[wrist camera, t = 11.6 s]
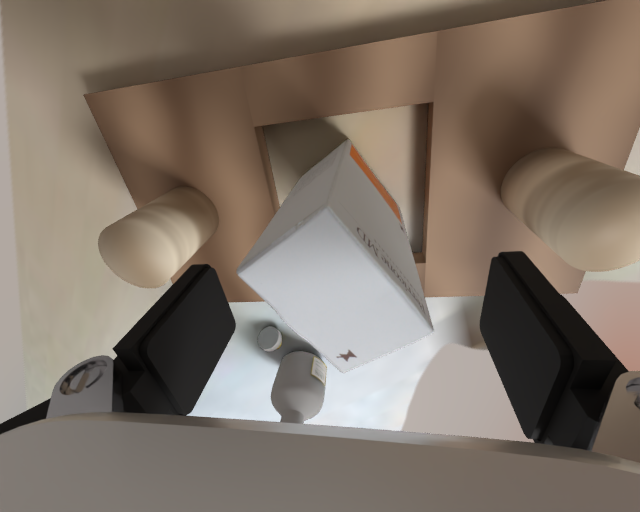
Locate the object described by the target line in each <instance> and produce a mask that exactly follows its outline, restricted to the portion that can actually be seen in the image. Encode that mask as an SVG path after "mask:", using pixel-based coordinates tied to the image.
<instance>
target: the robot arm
mask: <svg viewBox="0 0 640 512" xmlns="http://www.w3.org/2000/svg"><path fill="white" fill-rule="evenodd" d="M235 327H236V323H235V319H234V317H233V314H232V312H231V309H230V306H229V304H228V301H227V298H226V296H225V293H224V291H223V288H222V285H221V283H220V280H219V278H218V275H217V272H216V270H215V269H214V268H212V267H211V266H210V265H209V264H194V265H191V266H190V267H189V268H188V269H187V270H186V271H185V272H184V273H183V274H182V275H181V276H180V278H179V279H178V280H177V281H176V282H175V283H174V284H173V285H172V286H171V287H170V288H169V289H168V290H167V291H166V292H165V293H164V295H163V296H162V297H161V298H160V299H159V300H158V301H157V302H156V303H155V304H154V305H153V306H152V307H151V308H150V309H149V311H148V312H147V313H146V314H145V315H144V316H143V317H142V318H141V319H140V320H139V321H138V322H137V323H136V324H135V325H134V327H133V328H132V329H131V330H130V331H129V332H128V333H127V334H126V335H125V336H124V337H123V338H122V339H121V340H120V341H119V342H118V344H117V345H116V346H115V347H114V348H113V350H114V351H115V353H116V354H117V357H116V358H115V359H114V360H113V359H112V358H110V357H109V356H103V355H102V356H96V357H93V358H90V359H87V360H85V361H83V362H81V363H79V364H77V365H76V366H74V367H73V368H71V369H70V370H69V371H68V372H66V373H65V374H64V375H63V376H62V377H61V378H60V380H59V381H58V382H57V383H56V385H55V387H54V389H53V392H52V396H51V398H50V399H48V400H46V401H44V402H43V403H41V404H39V405H37V406H35V407H33V408H31V409H29V410H27V411H25V412H23V413H21V414H19V415H17V416H15V417H13V418H11V419H9V420H7V421H5V422H3V423H2V424H0V512H640V371H628V370H627V369H626V368H625V367H624V365H623V364H622V363H621V362H620V361H619V360H618V359H617V358H616V357H615V355H614V354H613V353H612V352H611V350H610V349H609V348H608V347H607V346H606V345H605V343H604V342H603V341H602V340H601V339H600V338H599V337H598V335H597V334H596V333H595V332H594V331H593V330H592V329H591V327H590V326H589V325H588V324H587V323H586V322H585V320H584V319H583V318H582V317H581V316H580V315H579V314H578V312H577V311H576V310H575V309H574V308H573V307H572V305H571V304H570V303H569V302H568V301H567V300H566V299H565V298H564V297H563V296H562V295H560V294H559V293H558V291H557V290H556V289H555V288H554V287H553V286H552V284H551V283H550V282H549V281H548V280H547V279H546V277H545V276H544V275H543V274H542V273H541V272H540V270H539V269H538V268H537V267H536V266H535V265H534V263H533V262H532V261H531V260H530V259H529V258H528V256H527V255H526V254H525V253H524V252H523V251H509V252H500V253H499V254H498V257H493V258H492V259H491V264H490V269H489V275H488V280H487V285H486V291H485V296H484V302H483V307H482V313H481V318H480V330H481V334H482V336H483V338H484V341H485V343H486V345H487V348H488V350H489V352H490V355H491V357H492V359H493V362H494V364H495V366H496V369H497V371H498V374H499V376H500V378H501V381H502V383H503V385H504V388H505V390H506V392H507V395H508V397H509V399H510V402H511V404H512V406H513V409H514V411H515V414H516V416H517V418H518V421H519V423H520V425H521V428H522V430H523V432H524V434H525V436H526V437H527V438H528V439H533V440H534V442H535V443H531V442H520V441H510V440H499V439H488V438H478V437H467V436H455V435H442V434H430V433H416V432H404V431H391V430H378V429H365V428H352V427H338V426H325V425H311V424H297V423H283V422H269V421H255V420H241V419H226V418H211V417H196V416H186V415H187V414H189V413H190V412H191V411H192V410H193V408H194V406H195V404H196V403H197V401H198V399H199V397H200V395H201V393H202V391H203V389H204V388H205V386H206V384H207V382H208V380H209V378H210V376H211V374H212V372H213V371H214V369H215V367H216V365H217V363H218V361H219V359H220V357H221V355H222V354H223V352H224V350H225V348H226V346H227V344H228V342H229V340H230V339H231V337H232V335H233V333H234V331H235Z"/></svg>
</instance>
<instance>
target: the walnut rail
mask: <svg viewBox="0 0 640 512" xmlns="http://www.w3.org/2000/svg"><path fill="white" fill-rule="evenodd" d="M84 97H85V99H86V101H87V103H88V105H89V108H90V110H91V112H92V114H93V116H94V118H95V120H96V122H97V124H98V127H99V129H100V131H101V133H102V135H103V137H104V139H105V141H106V143H107V146H108V148H109V150H110V152H111V154H112V156H113V158H114V160H115V162H116V165H117V167H118V169H119V171H120V173H121V175H122V177H123V179H124V181H125V183H126V186H127V188H128V190H129V192H130V194H131V196H132V198H133V200H134V202H135V205H136V207H137V210H136V211H134V212H132V213H131V214H129V215H127V216H125V217H124V218H122V219H120V220H118V221H117V222H115V223H113V224H111V225H110V226H108V227H106V228H105V229H104V230H103V231H102V232H101V234H100V236H99V239H98V247H99V251H100V254H101V256H102V258H103V260H104V262H105V263H106V265H107V266H108V267H109V268H110V269H111V270H112V271H113V272H114V273H115V274H116V275H117V276H118V277H120V278H121V279H123V280H124V281H126V282H128V283H130V284H132V285H135V286H138V287H142V288H157V287H160V286H162V285H164V284H165V283H166V282H167V281H168V280H169V279H170V278H171V281H172V283H173V284H174V283H175V282H176V281H177V280H178V279H179V278H180V276H181V275H182V274H183V273H184V272H185V271H186V270H187V269H188V268H189V267H190V266H191V265H194V264H209V265H210V266H211V267H212V268H214V269H215V270H216V272H217V275H218V278H219V280H220V283H221V285H222V288H223V291H224V293H225V296H226V298H227V301H228V302H260V301H264V300H263V299H262V298H261V297H260V296H259V295H258V294H257V293H256V292H255V291H254V290H253V289H252V288H251V287H250V286H248V285H247V284H246V283H245V282H244V281H243V280H242V279H241V278H240V277H239V276H238V274H237V268H238V266H239V265H240V264H241V262H242V261H243V260H244V258H245V257H246V256H247V254H248V253H249V251H250V250H251V249H252V247H253V246H254V245H255V243H256V242H257V240H258V239H259V237H260V236H261V234H262V233H263V232H264V230H265V229H266V227H267V226H268V224H269V223H270V221H271V220H272V219H273V217H274V216H275V214H276V213H277V211H278V210H279V208H280V206H279V201H278V197H277V192H276V187H275V183H274V178H273V174H272V169H271V164H270V160H269V155H268V151H267V146H266V141H265V137H264V132H263V128H262V126H264V125H271V124H278V123H285V122H292V121H299V120H307V119H314V118H321V117H328V116H335V115H342V114H350V113H357V112H364V111H371V110H378V109H385V108H393V107H400V106H407V105H414V104H421V103H428V124H427V148H426V172H425V196H424V220H423V244H422V252H418V253H412V254H413V257H414V261H415V264H416V268H417V272H418V275H419V279H420V282H421V286H422V290H423V293H424V297H453V296H485V291H486V285H487V280H488V275H489V269H490V264H491V259H492V258H493V257H498V254H499V253H500V252H509V251H523V252H524V253H525V254H526V255H527V256H528V258H529V259H530V260H531V261H532V262H533V263H534V265H535V266H536V267H537V268H538V269H539V270H540V272H541V273H542V274H543V275H544V276H545V277H546V279H547V280H548V281H549V282H550V283H551V284H552V286H553V287H554V288H555V289H556V290H557V291H558V293H559V294H568V293H578V290H579V288H580V285H581V282H582V280H583V277H584V274H585V272H586V271H591V272H601V271H609V270H615V269H619V268H622V267H625V266H628V265H630V264H633V263H635V262H637V261H639V260H640V176H639V175H636V174H633V173H630V172H627V171H624V168H625V165H626V162H627V160H628V157H629V154H630V152H631V149H632V146H633V144H634V141H635V138H636V136H637V133H638V130H639V128H640V0H606V1H600V2H595V3H589V4H584V5H578V6H573V7H567V8H562V9H556V10H551V11H545V12H539V13H534V14H528V15H523V16H517V17H512V18H506V19H501V20H495V21H490V22H484V23H478V24H473V25H467V26H462V27H456V28H451V29H445V30H440V31H434V32H429V33H423V34H417V35H412V36H406V37H401V38H395V39H390V40H384V41H379V42H373V43H367V44H362V45H356V46H351V47H345V48H340V49H334V50H329V51H323V52H318V53H312V54H306V55H301V56H295V57H290V58H284V59H279V60H273V61H268V62H262V63H257V64H251V65H245V66H240V67H234V68H229V69H223V70H218V71H212V72H207V73H201V74H196V75H190V76H184V77H179V78H173V79H168V80H162V81H157V82H151V83H146V84H140V85H134V86H129V87H123V88H118V89H112V90H107V91H101V92H96V93H90V94H85V95H84Z"/></svg>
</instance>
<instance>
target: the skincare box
mask: <svg viewBox="0 0 640 512" xmlns="http://www.w3.org/2000/svg"><path fill="white" fill-rule="evenodd" d="M237 274H238V276H239V277H240V278H241V279H242V280H243V281H244V282H245V283H246V284H247V285H248V286H250V287H251V288H252V289H253V290H254V291H255V292H256V293H257V294H258V295H259V296H260V297H261V298H262V299H263V300H264V301H265V302H266V303H268V304H269V305H270V306H271V307H272V308H273V309H274V310H275V311H276V312H277V314H278V315H279V316H280V318H281V319H282V320H283V321H284V322H285V323H286V324H287V325H288V326H289V327H290V328H291V329H292V330H293V331H294V332H295V333H296V334H297V335H299V336H300V337H302V338H303V339H305V340H306V341H308V342H309V343H310V344H311V345H312V346H313V347H314V348H315V349H316V350H317V351H319V352H320V353H321V354H322V355H323V356H324V357H325V358H326V359H327V360H328V361H329V362H330V363H332V364H333V365H334V366H335V367H336V368H337V369H338V370H339V371H340V372H342V373H346V372H348V371H350V370H352V369H355V368H357V367H359V366H361V365H364V364H366V363H368V362H371V361H373V360H375V359H378V358H380V357H382V356H385V355H387V354H390V353H392V352H394V351H396V350H399V349H401V348H403V347H406V346H408V345H410V344H413V343H415V342H417V341H419V340H421V339H423V338H425V337H427V336H429V335H431V334H433V332H434V329H433V326H432V322H431V319H430V315H429V311H428V308H427V304H426V300H425V297H424V293H423V290H422V286H421V282H420V279H419V275H418V272H417V268H416V264H415V261H414V257H413V254H412V250H411V246H410V243H409V240H408V236H407V232H406V229H405V226H404V221H403V218H402V214H401V211H400V208H399V206H398V205H397V204H396V202H395V201H394V200H393V199H392V197H391V196H390V195H389V193H388V192H387V191H386V189H385V188H384V187H383V186H382V184H381V183H380V182H379V180H378V179H377V178H376V176H375V175H374V174H373V172H372V171H371V170H370V168H369V167H368V165H367V164H366V162H365V161H364V160H363V158H362V157H361V155H360V154H359V152H358V151H357V150H356V148H355V147H354V145H353V144H352V142H351V141H350V140H349V139H347V140H345V141H344V142H343V143H342V144H341V145H339V146H338V147H337V148H336V149H335V150H333V151H332V152H331V153H330V154H328V155H327V156H326V157H325V158H323V159H322V160H321V161H320V162H318V163H317V164H316V165H315V166H314V167H312V168H311V169H310V170H309V171H307V172H306V173H305V174H304V175H303V176H302V177H301V178H300V179H299V180H298V182H297V183H296V185H295V186H294V188H293V189H292V191H291V192H290V194H289V195H288V196H287V198H286V199H285V201H284V202H283V204H282V205H281V207H280V208H279V210H278V211H277V213H276V214H275V216H274V217H273V219H272V220H271V221H270V223H269V224H268V226H267V227H266V229H265V230H264V232H263V233H262V234H261V236H260V237H259V239H258V240H257V242H256V243H255V245H254V246H253V247H252V249H251V250H250V251H249V253H248V254H247V256H246V257H245V258H244V260H243V261H242V262H241V264H240V265H239V266H238V268H237Z"/></svg>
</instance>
